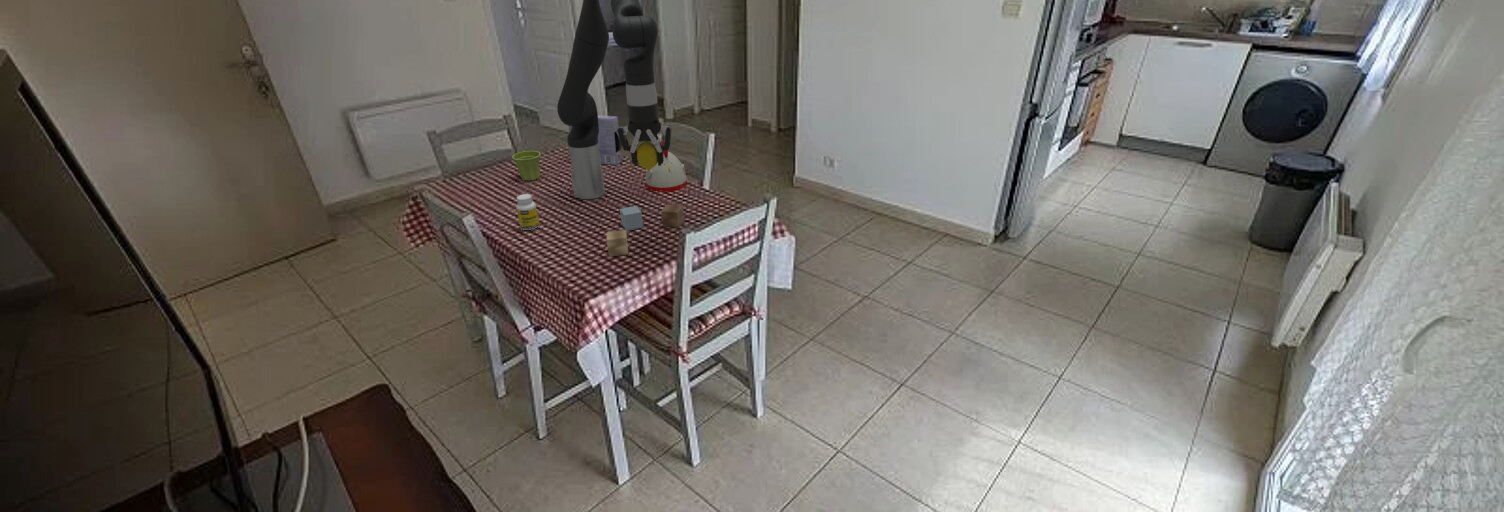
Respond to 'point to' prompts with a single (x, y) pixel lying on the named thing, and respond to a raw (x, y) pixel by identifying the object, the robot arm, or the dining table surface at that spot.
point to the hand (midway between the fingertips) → (648, 164)
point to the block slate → (631, 218)
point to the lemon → (647, 155)
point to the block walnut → (672, 216)
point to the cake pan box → (608, 140)
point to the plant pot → (528, 164)
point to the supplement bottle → (527, 212)
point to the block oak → (617, 243)
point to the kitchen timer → (666, 174)
